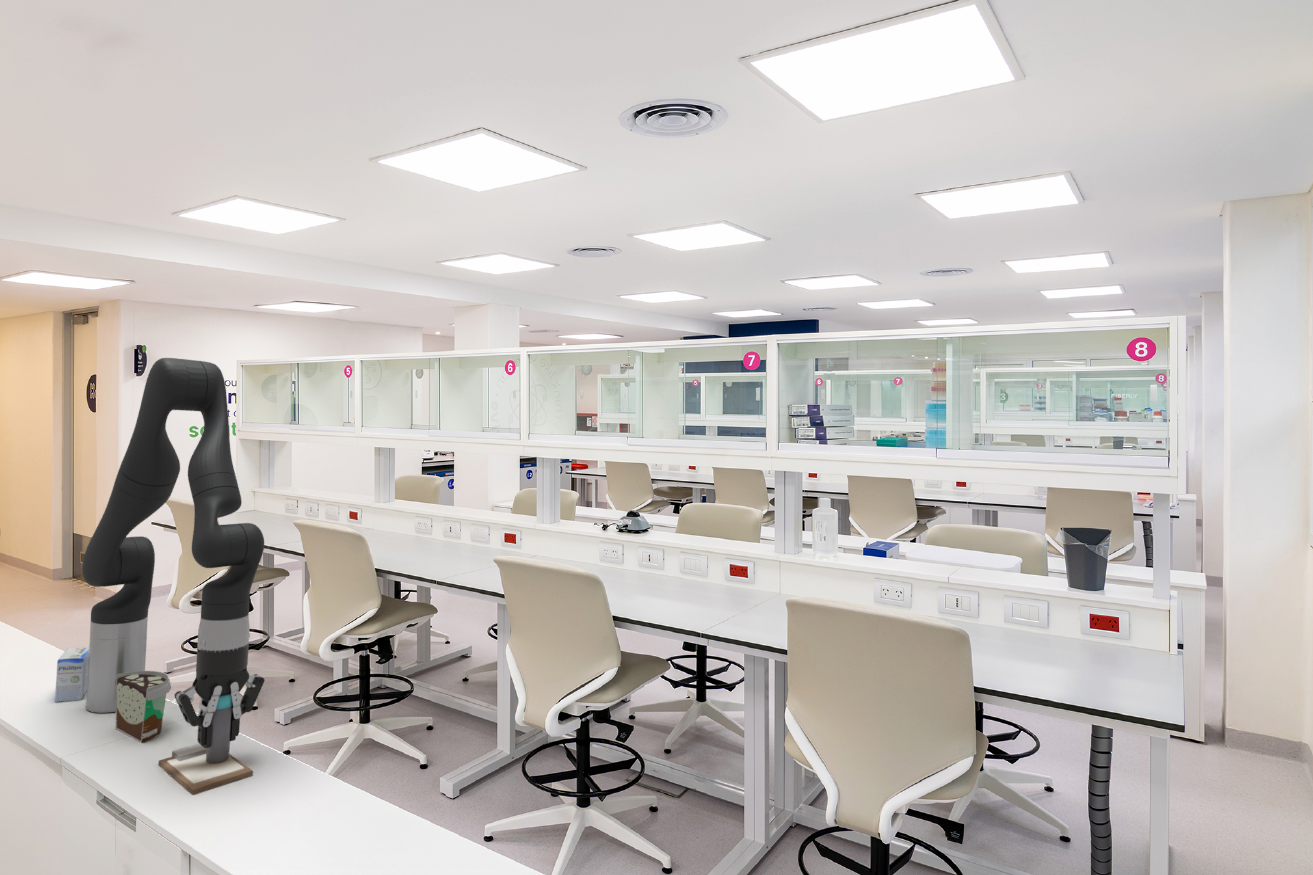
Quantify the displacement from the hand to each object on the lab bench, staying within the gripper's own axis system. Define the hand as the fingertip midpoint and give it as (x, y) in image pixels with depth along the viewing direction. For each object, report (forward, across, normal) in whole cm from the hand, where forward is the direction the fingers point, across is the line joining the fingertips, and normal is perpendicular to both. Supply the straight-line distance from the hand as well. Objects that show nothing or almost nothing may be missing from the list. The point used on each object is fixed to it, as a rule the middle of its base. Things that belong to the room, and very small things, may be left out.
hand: (218, 742), depth 125 cm
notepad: (+4, +2, 0) cm, 4 cm away
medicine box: (+4, +7, -50) cm, 51 cm away
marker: (+3, 0, 0) cm, 3 cm away
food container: (+4, +3, -22) cm, 23 cm away
